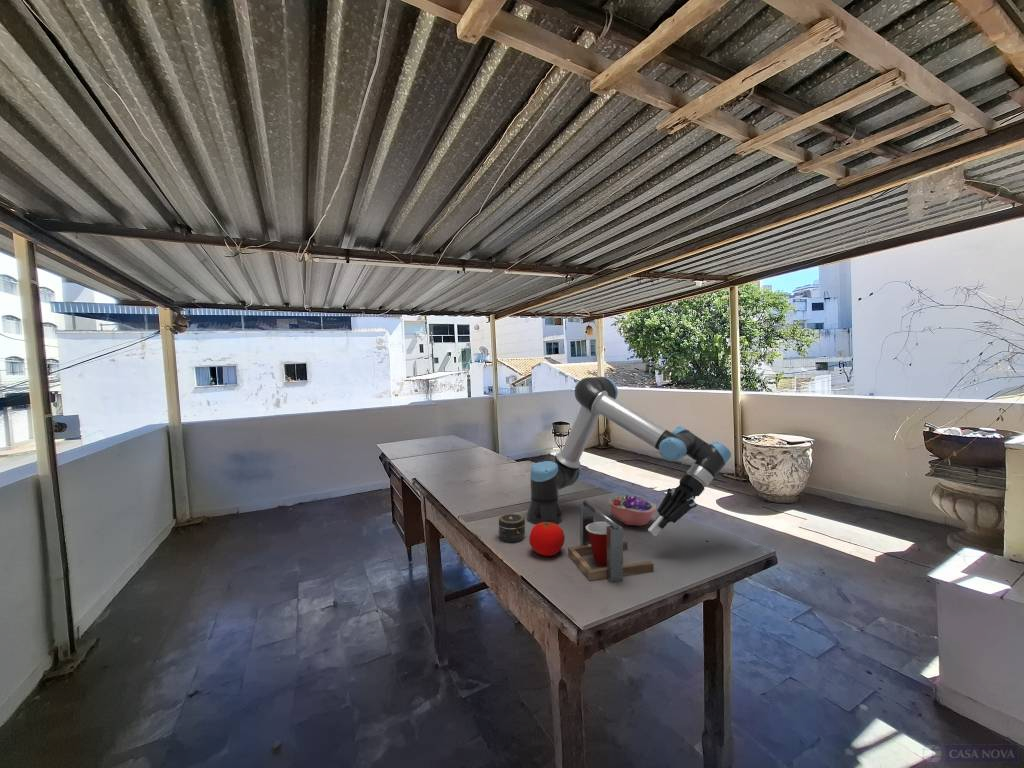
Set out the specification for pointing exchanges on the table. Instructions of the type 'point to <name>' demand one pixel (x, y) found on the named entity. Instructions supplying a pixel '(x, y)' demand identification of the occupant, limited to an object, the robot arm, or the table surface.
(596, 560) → the plastic cup
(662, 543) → the table surface
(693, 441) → the robot arm
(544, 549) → the tomato
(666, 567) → the table surface
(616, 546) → the grey and wooden frame
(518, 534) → the jar
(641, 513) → the cell model
